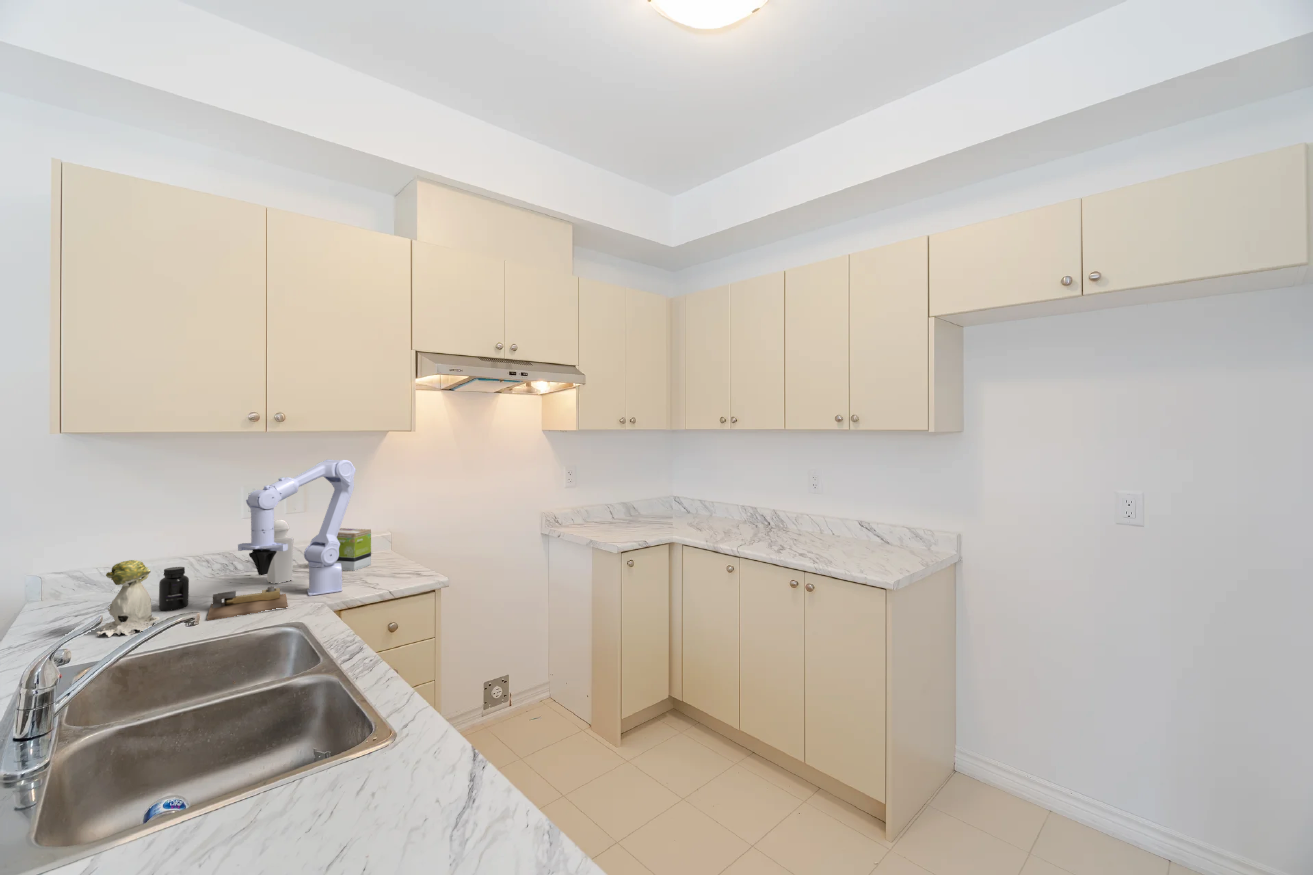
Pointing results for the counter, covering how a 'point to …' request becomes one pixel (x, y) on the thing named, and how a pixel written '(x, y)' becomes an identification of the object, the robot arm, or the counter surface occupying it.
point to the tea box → (354, 548)
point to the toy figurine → (129, 599)
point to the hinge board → (242, 605)
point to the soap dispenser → (281, 555)
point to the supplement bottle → (173, 589)
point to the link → (254, 597)
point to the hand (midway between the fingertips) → (263, 574)
